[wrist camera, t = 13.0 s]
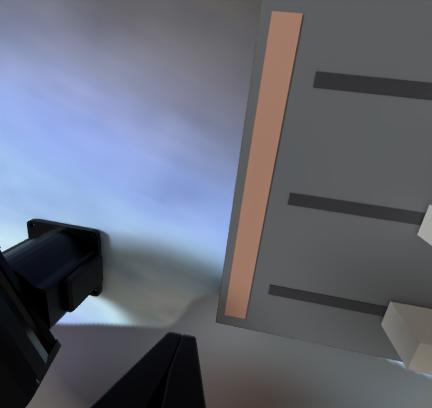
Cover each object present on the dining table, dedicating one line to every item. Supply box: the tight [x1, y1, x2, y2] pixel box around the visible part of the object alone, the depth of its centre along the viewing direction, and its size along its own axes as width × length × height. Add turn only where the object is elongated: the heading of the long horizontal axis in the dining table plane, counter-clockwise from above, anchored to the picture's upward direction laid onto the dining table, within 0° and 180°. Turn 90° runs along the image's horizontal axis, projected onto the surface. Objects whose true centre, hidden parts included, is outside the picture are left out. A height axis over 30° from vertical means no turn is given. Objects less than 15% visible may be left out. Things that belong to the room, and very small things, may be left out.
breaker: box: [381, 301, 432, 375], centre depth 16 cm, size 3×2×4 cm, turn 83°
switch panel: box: [216, 0, 432, 362], centre depth 17 cm, size 18×22×2 cm
